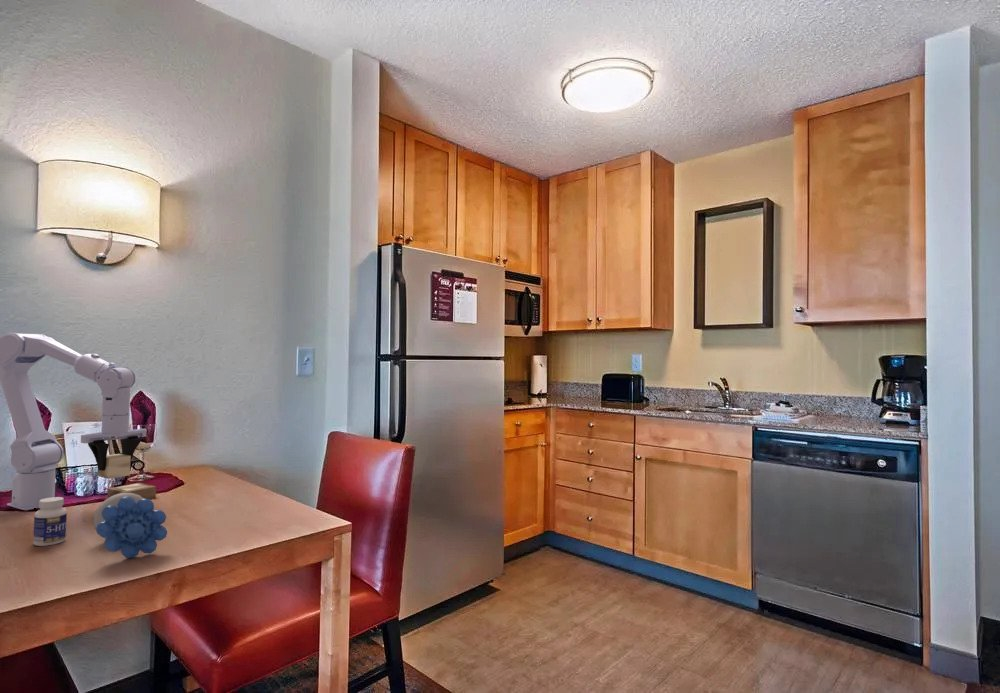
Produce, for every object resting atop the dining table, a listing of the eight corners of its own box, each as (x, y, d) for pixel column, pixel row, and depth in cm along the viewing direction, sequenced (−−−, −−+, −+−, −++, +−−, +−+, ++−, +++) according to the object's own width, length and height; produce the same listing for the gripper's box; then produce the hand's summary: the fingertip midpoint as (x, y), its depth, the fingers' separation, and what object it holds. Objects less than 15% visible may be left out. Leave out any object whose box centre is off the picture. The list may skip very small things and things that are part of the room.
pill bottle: (47, 547, 112) (48, 503, 112) (26, 545, 113) (27, 501, 113) (72, 539, 117) (73, 497, 118) (52, 537, 118) (53, 495, 119)
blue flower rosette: (96, 571, 101) (98, 505, 101) (94, 560, 106) (96, 497, 106) (170, 557, 108) (172, 496, 108) (164, 548, 113) (166, 489, 113)
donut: (94, 547, 113) (95, 498, 113) (90, 543, 115) (92, 495, 115) (150, 537, 120) (152, 490, 120) (146, 533, 122) (147, 487, 122)
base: (107, 499, 148) (107, 488, 148) (138, 493, 155) (138, 482, 155) (124, 504, 144) (125, 492, 144) (155, 497, 152) (156, 486, 152)
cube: (97, 476, 141) (98, 456, 141) (119, 472, 145) (120, 453, 145) (108, 478, 138) (109, 458, 138) (129, 475, 142) (130, 455, 143)
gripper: (92, 418, 134) (90, 475, 133) (153, 413, 146) (152, 465, 146) (77, 416, 137) (75, 471, 137) (138, 411, 150) (136, 462, 150)
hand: (113, 468), depth 142 cm, fingers closed on cube, 5 cm apart
